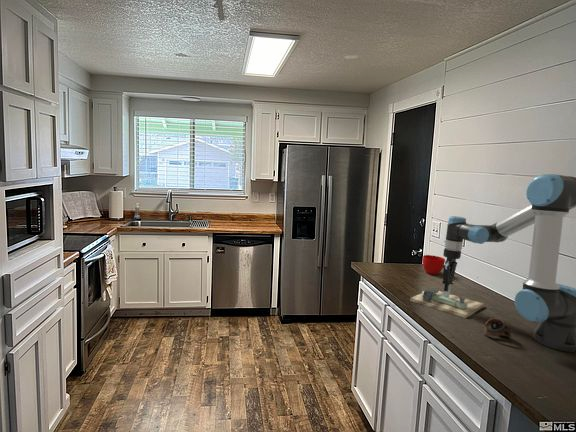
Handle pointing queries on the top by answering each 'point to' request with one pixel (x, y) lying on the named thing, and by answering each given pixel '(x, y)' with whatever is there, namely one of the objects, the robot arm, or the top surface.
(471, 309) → the base board
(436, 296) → the link
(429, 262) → the ceramic cup
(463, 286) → the top surface
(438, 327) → the top surface
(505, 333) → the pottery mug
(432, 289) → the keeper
